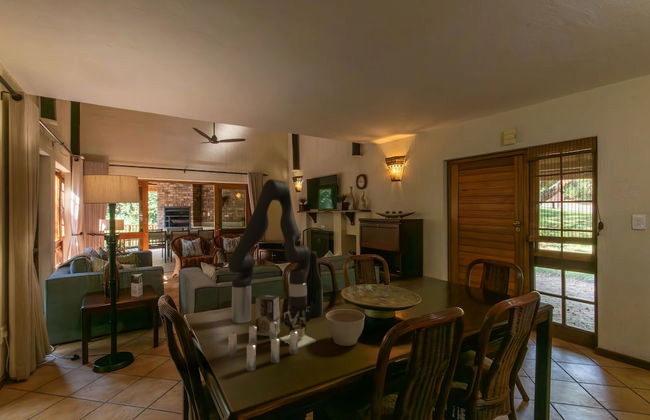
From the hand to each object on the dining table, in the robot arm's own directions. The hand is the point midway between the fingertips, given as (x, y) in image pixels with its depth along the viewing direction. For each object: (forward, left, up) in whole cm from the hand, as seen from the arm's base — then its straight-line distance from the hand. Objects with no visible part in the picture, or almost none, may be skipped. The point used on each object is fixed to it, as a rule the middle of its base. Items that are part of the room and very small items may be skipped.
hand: (297, 334), depth 128 cm
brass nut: (0, 0, -1) cm, 1 cm away
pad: (0, 0, -3) cm, 3 cm away
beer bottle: (-21, +26, -3) cm, 34 cm away
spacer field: (+1, -17, -3) cm, 17 cm away
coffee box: (-15, -5, -3) cm, 16 cm away
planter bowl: (+14, +14, -3) cm, 20 cm away
